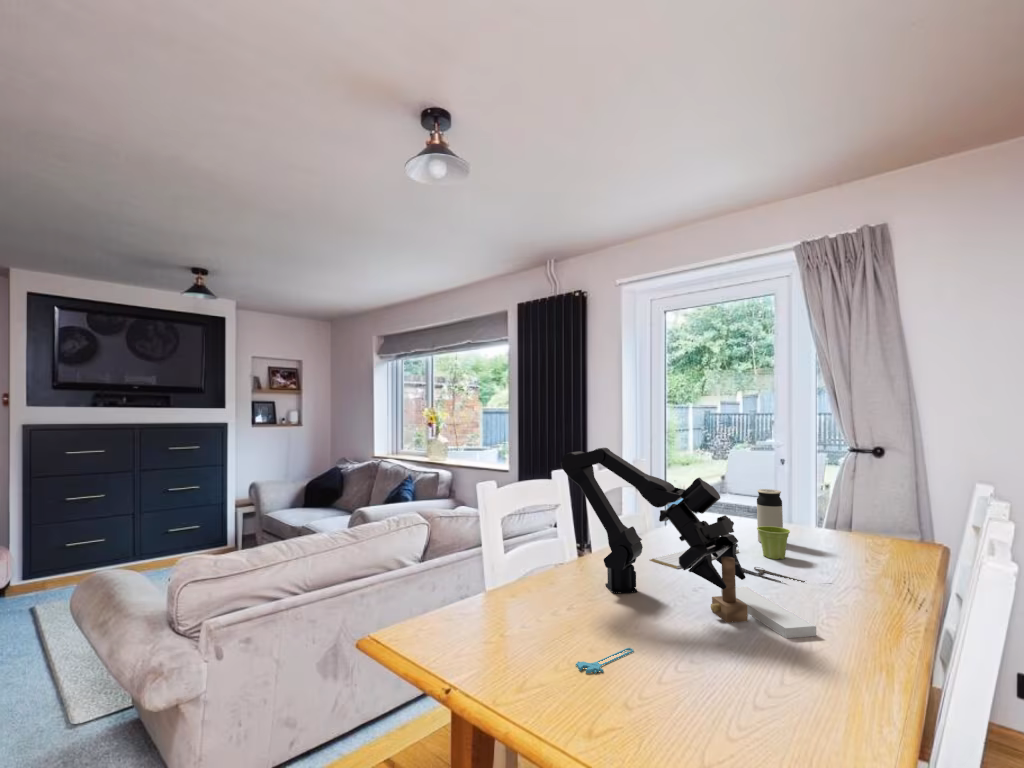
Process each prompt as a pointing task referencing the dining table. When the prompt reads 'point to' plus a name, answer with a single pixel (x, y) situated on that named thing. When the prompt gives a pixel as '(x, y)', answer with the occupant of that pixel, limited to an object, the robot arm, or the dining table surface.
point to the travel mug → (769, 509)
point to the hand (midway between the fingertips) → (734, 583)
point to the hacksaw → (767, 573)
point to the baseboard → (673, 559)
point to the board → (774, 615)
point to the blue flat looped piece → (596, 666)
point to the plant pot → (773, 541)
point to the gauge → (729, 596)
